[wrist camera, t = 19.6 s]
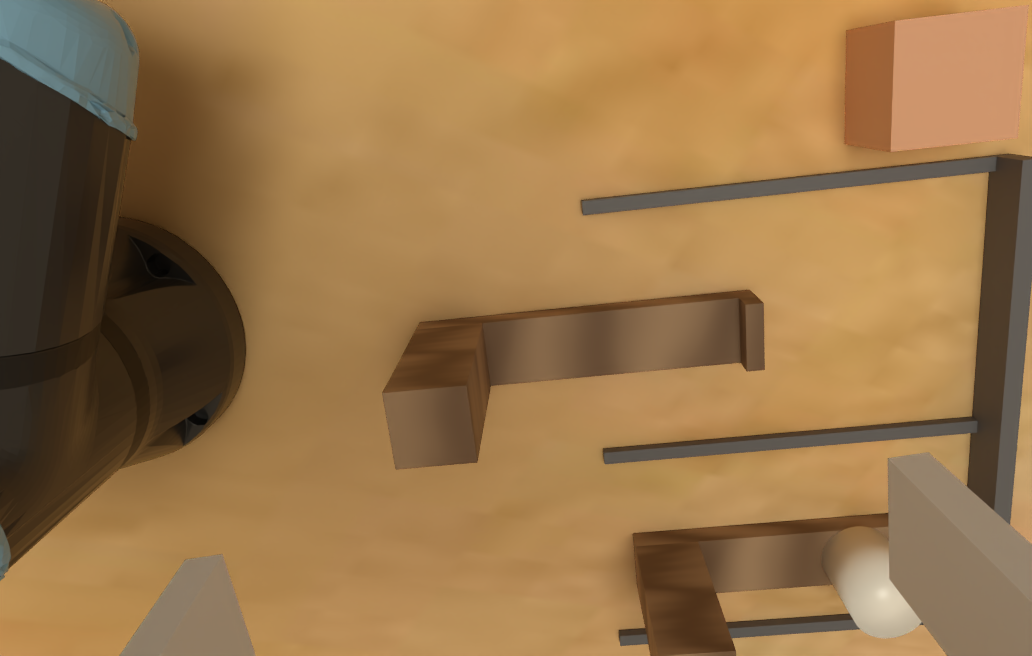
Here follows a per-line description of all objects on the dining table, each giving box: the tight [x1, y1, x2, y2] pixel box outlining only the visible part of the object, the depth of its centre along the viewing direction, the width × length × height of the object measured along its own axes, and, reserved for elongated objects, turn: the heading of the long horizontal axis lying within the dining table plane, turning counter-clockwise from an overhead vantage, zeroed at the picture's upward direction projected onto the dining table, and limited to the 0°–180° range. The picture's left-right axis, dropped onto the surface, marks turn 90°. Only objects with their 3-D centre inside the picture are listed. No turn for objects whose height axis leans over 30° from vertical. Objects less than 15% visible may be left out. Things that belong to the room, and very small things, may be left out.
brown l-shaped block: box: [382, 290, 765, 469], centre depth 41 cm, size 20×4×12 cm, turn 96°
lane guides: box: [581, 154, 1032, 646], centre depth 46 cm, size 24×31×3 cm
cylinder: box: [821, 526, 921, 638], centre depth 46 cm, size 4×4×5 cm
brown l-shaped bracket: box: [633, 513, 889, 656], centre depth 45 cm, size 20×4×12 cm, turn 96°
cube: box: [845, 5, 1029, 152], centre depth 39 cm, size 6×6×6 cm
